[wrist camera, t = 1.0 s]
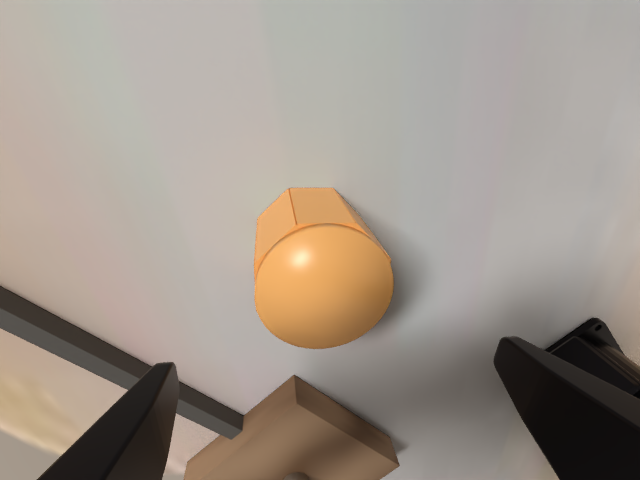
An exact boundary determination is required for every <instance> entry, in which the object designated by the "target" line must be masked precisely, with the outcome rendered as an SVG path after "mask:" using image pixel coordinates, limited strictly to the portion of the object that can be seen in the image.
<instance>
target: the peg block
mask: <svg viewBox="0 0 640 480" xmlns="http://www.w3.org/2000/svg"><path fill="white" fill-rule="evenodd" d="M399 466H400V465H399V462H398V459H397V457H396V454H395V451H394V448H393V445H392V442H391V440H390V437H388V436H387V435H385V434H384V433H382V432H381V431H379V430H378V429H376V428H375V427H373V426H372V425H370V424H368V423H367V422H365V421H364V420H362V419H361V418H359V417H358V416H356V415H355V414H353V413H352V412H350V411H349V410H347V409H345V408H344V407H342V406H341V405H339V404H338V403H336V402H335V401H333V400H332V399H330V398H329V397H327V396H326V395H324V394H322V393H321V392H319V391H318V390H316V389H315V388H313V387H312V386H310V385H309V384H307V383H306V382H304V381H302V380H301V379H299V378H298V377H296V376H295V375H293V376H292V377H291V378H290V379H288V380H287V381H286V382H285V383H284V384H282V385H281V386H280V387H279V388H277V389H276V390H275V391H274V392H273V393H271V394H270V395H269V396H268V397H266V398H265V399H264V400H263V401H261V402H260V403H259V404H258V405H257V406H255V407H254V408H253V409H252V410H250V411H249V412H248V413H247V414H246V415H244V417H243V431H242V432H241V433H239V434H238V435H237V436H236V437H234V438H233V439H232V440H231V439H228V438H226V437H224V436H222V435H220V436H219V437H217V438H216V439H215V440H214V441H212V442H211V443H210V444H209V445H208V446H206V447H205V448H204V449H203V450H201V451H200V452H199V453H198V454H197V455H195V456H194V457H193V458H192V459H190V460H189V461H188V462H187V466H186V471H185V475H184V480H380V479H381V478H383V477H384V476H386V475H387V474H389V473H390V472H391V471H393V470H394V469H396V468H397V467H399Z"/></svg>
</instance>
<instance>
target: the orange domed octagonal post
mask: <svg viewBox="0 0 640 480" xmlns="http://www.w3.org/2000/svg"><path fill="white" fill-rule="evenodd" d="M390 263H391V259H390V257H389V255H388V254H387V252H386V251H385V250H384V248H383V247H382V246H381V244H380V243H379V242H378V240H377V239H376V237H375V236H374V235H373V233H372V232H371V231H370V229H369V228H368V227H367V225H366V224H365V222H364V221H363V220H362V218H361V217H360V216H359V215H358V214H357V213H356V212H355V211H354V209H353V208H352V207H351V206H350V205H349V204H348V203H347V202H346V201H345V200H344V199H343V198H342V197H341V196H340V195H339V194H338V193H337V192H336V190H335V189H334V188H289V189H287V190H286V191H285V192H284V193H283V194H282V195H281V196H280V197H279V198H278V199H277V200H276V201H275V202H274V203H273V204H272V205H271V206H270V207H268V208H267V209H266V210H265V211H264V212H263V213H262V214H261V215H260V216H259V217H258V219H257V231H256V244H255V257H254V275H255V305H256V311H257V313H258V315H259V317H260V319H261V321H262V322H263V324H264V325H265V327H266V328H267V329H268V330H269V331H270V332H271V333H272V334H274V335H275V336H276V337H278V338H279V339H281V340H283V341H284V342H287V343H289V344H291V345H295V346H298V347H303V348H311V349H324V348H332V347H336V346H340V345H343V344H346V343H349V342H351V341H353V340H355V339H357V338H359V337H360V336H362V335H364V334H365V333H366V332H368V331H369V330H370V329H371V328H372V327H374V326H375V325H376V324H377V322H378V321H379V320H380V319H381V318H382V316H383V315H384V313H385V312H386V310H387V308H388V306H389V304H390V301H391V298H392V294H393V287H394V280H393V273H392V268H391V266H390Z"/></svg>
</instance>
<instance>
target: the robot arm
mask: <svg viewBox="0 0 640 480" xmlns="http://www.w3.org/2000/svg"><path fill="white" fill-rule="evenodd" d="M494 365H495V368H496V370H497V372H498V374H499V376H500V378H501V380H502V382H503V384H504V386H505V388H506V389H507V391H508V393H509V395H510V397H511V399H512V401H513V403H514V405H515V407H516V409H517V411H518V413H519V415H520V416H521V418H522V420H523V422H524V423H525V425H526V427H527V428H528V430H529V431H530V433H531V435H532V436H533V438H534V439H535V441H536V443H537V444H538V446H539V447H540V449H541V451H542V452H543V454H544V455H545V457H546V458H547V460H548V462H549V463H550V465H551V466H552V468H553V470H554V471H555V473H556V474H557V476H558V478H559V479H560V480H640V367H639V366H638V365H637V364H635V363H634V362H633V361H631V360H630V359H628V358H627V357H626V356H625V355H624V354H623V352H622V350H621V349H620V347H619V345H618V344H617V342H616V341H615V339H614V337H613V336H612V334H611V332H610V331H609V329H608V327H607V326H606V324H605V323H604V322H603V321H601V320H600V319H598V318H593V319H591V320H589V321H588V322H586V323H585V324H584V325H582V326H581V327H579V328H578V329H576V330H575V331H573V332H572V333H571V334H569V335H568V336H566V337H565V338H563V339H562V340H561V341H559V342H558V343H556V344H555V345H553V346H552V347H550V348H549V349H548V350H546V351H544V350H542V349H540V348H538V347H536V346H535V345H533V344H531V343H529V342H527V341H525V340H523V339H521V338H519V337H515V336H512V337H503V338H501V339H500V341H499V344H498V347H497V350H496V353H495V356H494ZM179 389H180V388H179V381H178V376H177V371H176V366H175V364H174V363H173V362H164V363H157V364H155V365H154V366H153V367H152V368H151V369H150V370H149V371H148V372H147V373H146V374H145V375H144V376H143V377H142V378H140V379H139V380H138V381H137V382H136V383H135V384H134V385H133V386H132V387H131V388H130V389H129V390H128V391H127V392H126V393H125V394H124V395H123V396H122V397H121V398H120V399H119V400H118V401H117V402H116V403H115V404H114V405H113V406H112V407H111V408H110V409H109V410H108V411H107V412H106V413H105V414H104V415H103V416H102V417H100V418H99V419H98V420H97V421H96V422H95V423H94V424H93V425H92V426H91V427H90V428H89V429H88V430H87V431H86V432H85V433H84V434H83V435H82V436H81V437H80V438H79V439H78V440H77V441H76V442H75V443H74V444H73V445H72V446H71V447H70V448H69V449H68V450H67V451H66V452H65V453H64V454H63V455H62V456H60V457H59V458H58V459H57V460H56V461H55V462H54V463H53V464H52V465H51V466H50V467H49V468H48V469H47V470H46V471H45V472H44V473H43V474H42V475H41V476H40V477H39V478H38V479H37V480H162V477H163V473H164V470H165V466H166V462H167V458H168V453H169V448H170V442H171V437H172V431H173V426H174V420H175V415H176V409H177V404H178V398H179Z"/></svg>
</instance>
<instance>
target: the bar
mask: <svg viewBox="0 0 640 480" xmlns="http://www.w3.org/2000/svg"><path fill="white" fill-rule="evenodd" d="M0 328H1V329H3V330H5V331H7V332H9V333H12V334H14V335H16V336H18V337H20V338H22V339H24V340H26V341H28V342H30V343H32V344H34V345H36V346H38V347H40V348H43V349H45V350H47V351H49V352H51V353H53V354H55V355H57V356H59V357H61V358H63V359H65V360H67V361H69V362H71V363H73V364H76V365H78V366H80V367H82V368H84V369H86V370H88V371H90V372H92V373H94V374H96V375H98V376H100V377H102V378H104V379H107V380H109V381H111V382H113V383H115V384H117V385H119V386H121V387H123V388H125V389H127V390H129V389H130V388H131V387H132V386H133V385H134V384H135V383H136V382H137V381H138V380H139V379H140V378H142V377H143V376H144V375H145V374H146V373H147V372H148V371H149V370H150V369H151V368H152V367H150V366H149V365H147V364H145V363H143V362H141V361H139V360H137V359H135V358H133V357H132V356H130V355H128V354H126V353H124V352H122V351H120V350H118V349H117V348H115V347H113V346H111V345H109V344H107V343H105V342H103V341H102V340H100V339H98V338H96V337H94V336H92V335H90V334H88V333H86V332H85V331H83V330H81V329H79V328H77V327H75V326H73V325H71V324H70V323H68V322H66V321H64V320H62V319H60V318H58V317H56V316H55V315H53V314H51V313H49V312H47V311H45V310H43V309H41V308H40V307H38V306H36V305H34V304H32V303H30V302H28V301H26V300H24V299H23V298H21V297H19V296H17V295H15V294H13V293H11V292H9V291H8V290H6V289H4V288H2V287H0ZM179 388H180V389H179V398H178V404H177V409H176V413H177V414H179V415H181V416H183V417H185V418H187V419H189V420H191V421H193V422H195V423H197V424H200V425H202V426H204V427H206V428H208V429H210V430H212V431H214V432H216V433H218V434H220V435H222V436H224V437H226V438H228V439H231V440H232V439H233V438H234V437H236V436H237V435H238V434H239V433H241V432H242V431H243V417H244V416H242V415H241V414H239V413H237V412H235V411H233V410H231V409H229V408H227V407H226V406H224V405H222V404H220V403H218V402H216V401H214V400H212V399H211V398H209V397H207V396H205V395H203V394H201V393H199V392H197V391H196V390H194V389H192V388H190V387H188V386H186V385H184V384H182V383H180V382H179Z"/></svg>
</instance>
